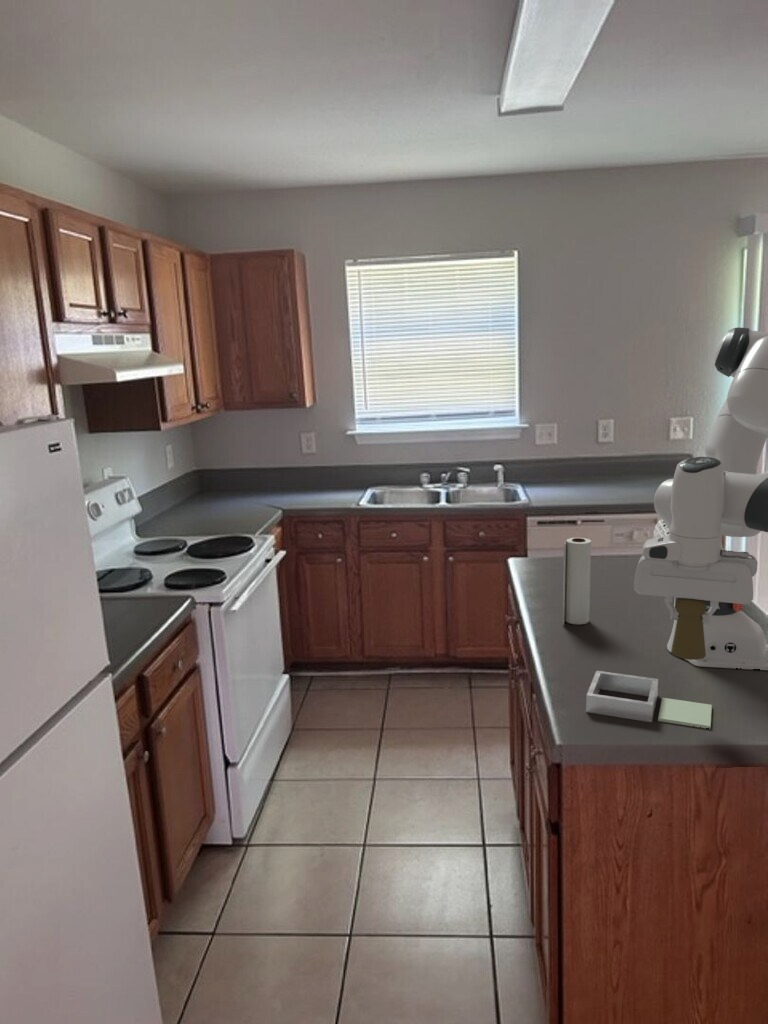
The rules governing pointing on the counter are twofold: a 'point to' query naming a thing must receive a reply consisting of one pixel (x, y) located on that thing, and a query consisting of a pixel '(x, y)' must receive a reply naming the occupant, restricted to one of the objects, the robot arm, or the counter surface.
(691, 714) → the green pad
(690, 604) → the olive green rounded piece
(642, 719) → the frame
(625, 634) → the counter surface
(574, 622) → the paper towel roll
